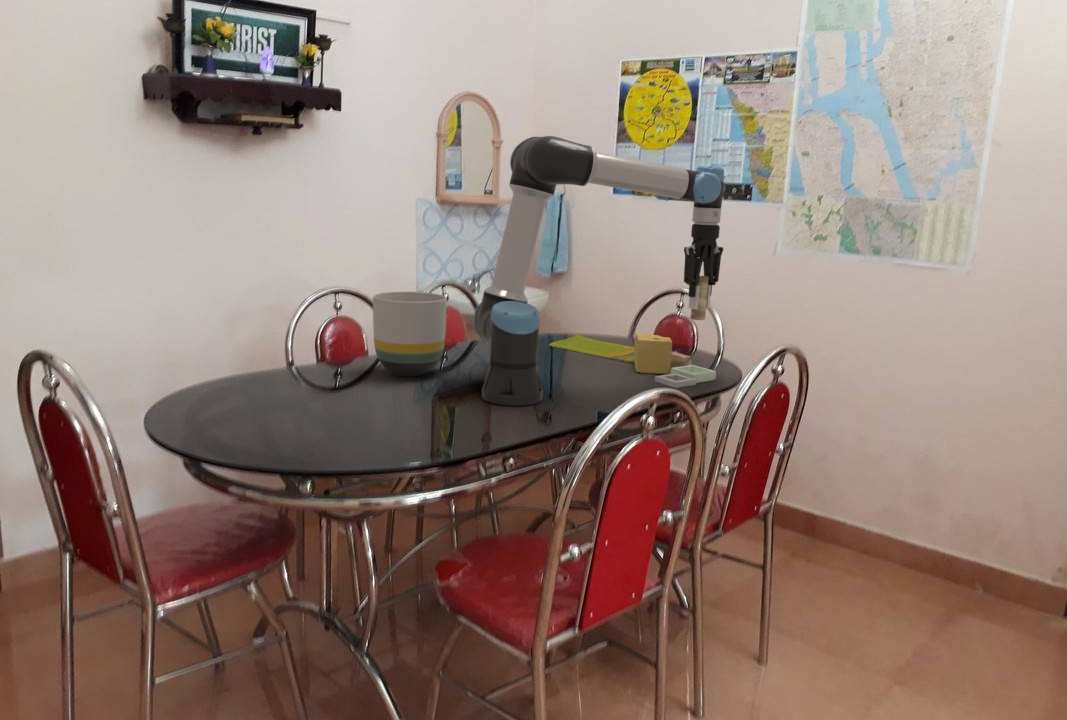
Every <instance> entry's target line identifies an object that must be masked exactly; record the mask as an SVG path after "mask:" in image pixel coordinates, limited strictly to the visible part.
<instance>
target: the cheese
mask: <svg viewBox="0 0 1067 720" xmlns="http://www.w3.org/2000/svg"><path fill="white" fill-rule="evenodd" d="M633 343H634V344H633V347H634V355H635V364H634V368H635V370H636V373H638V372H640V374H641V373H643V374H658V375H659V374H660V375H667V374H670V373H671V367H670V366H671V353H672V352H673V341H672V339H671V337H667V336H666V337H665V336H661V335H657V334H650V333H649V334H648V333H642V332H636V333H635V336H634V342H633Z"/></svg>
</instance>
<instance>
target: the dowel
mask: <svg viewBox="0 0 1067 720" xmlns="http://www.w3.org/2000/svg"><path fill="white" fill-rule="evenodd" d="M708 279H709V277H708V276H704V275H701V274H700V275H699V280H698V284H697V286H700V287H699V299H698V309H691V308H690V319H691V320H693V321H705V320H706V314H707V313H706V312H707V308H706V302H707V290H708Z"/></svg>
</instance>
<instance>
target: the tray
mask: <svg viewBox="0 0 1067 720" xmlns="http://www.w3.org/2000/svg"><path fill="white" fill-rule="evenodd" d="M675 373H676V374H680V375H683V376H686V377H690V378H693V379H697V380H696V384H698V383H704V382H705V383H706V382H711V381H716V379H717V378H716V377H717V371H716V370H713V369H709V368H705V367H701V366H697V365H694V364H691V365H689V366H682V367H674V368H672V367H670V374H675Z"/></svg>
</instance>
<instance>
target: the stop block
mask: <svg viewBox="0 0 1067 720" xmlns="http://www.w3.org/2000/svg"><path fill="white" fill-rule="evenodd" d="M692 358H693V357H692V356H690V355H687V354H683V353H679V352H675V351H672V353H671V366H670V368H674V367H682V366H689V365H692Z"/></svg>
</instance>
